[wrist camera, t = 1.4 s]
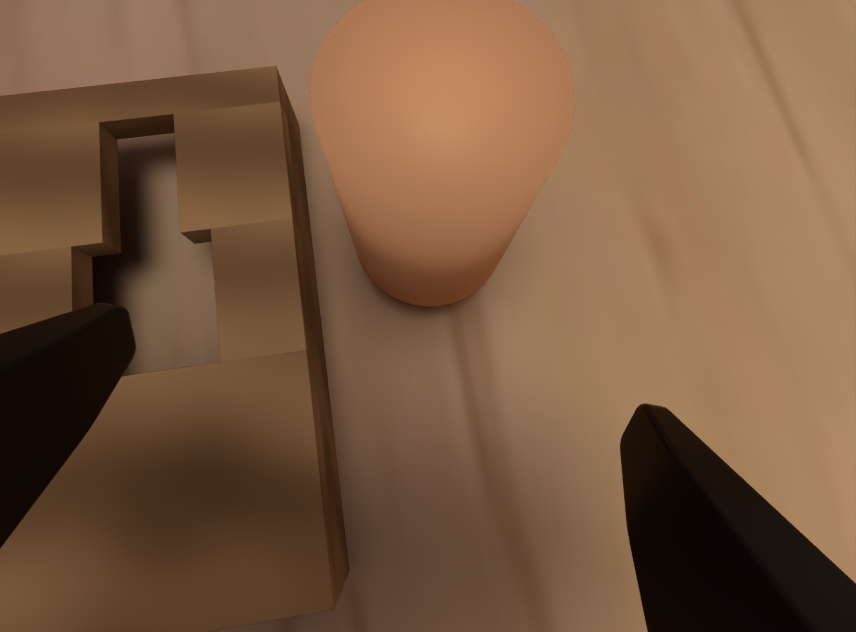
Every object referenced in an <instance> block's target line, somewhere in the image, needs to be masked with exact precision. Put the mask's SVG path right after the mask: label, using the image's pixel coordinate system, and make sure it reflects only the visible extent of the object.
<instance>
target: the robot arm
mask: <svg viewBox="0 0 856 632" xmlns="http://www.w3.org/2000/svg"><path fill="white" fill-rule="evenodd" d="M135 349H136V344H135V339H134V334H133V330H132V325H131V321H130V317H129V313H128V311H127V310H126V309H125V308H124V307H122V306H118V305H113V304H108V303H96V304H92V305H89V306H86V307H83V308H80V309H77V310H74V311H70V312H67V313H64V314H61V315H58V316H55V317H51V318H48V319H45V320H42V321H39V322H36V323H32V324H29V325H26V326H23V327H20V328H17V329H14V330H10V331H7V332H4V333H1V334H0V549H1V547H2V546H3V545H4V543H5V542H6V541H7V539H8V538H9V537H10V535H11V534H12V533H13V531H14V530H15V529H16V527H17V526H18V525H19V523H20V522H21V521H22V519H23V518H24V517H25V515H26V514H27V513H28V511H29V510H30V509H31V507H32V506H33V505H34V503H35V502H36V501H37V499H38V498H39V497H40V495H41V494H42V493H43V491H44V490H45V489H46V487H47V486H48V485H49V483H50V482H51V481H52V480H53V478H54V477H55V476H56V474H57V473H58V472H59V470H60V469H61V468H62V466H63V465H64V464H65V462H66V461H67V460H68V458H69V457H70V456H71V454H72V453H73V452H74V450H75V449H76V448H77V446H78V445H79V444H80V442H81V441H82V439H83V438H84V437H85V435H86V434H87V432H88V431H89V430H90V428H91V427H92V425H93V423H94V422H95V420H96V419H97V417H98V416H99V414H100V412H101V410H102V409H103V407H104V405H105V404H106V402H107V400H108V399H109V397H110V395H111V394H112V392H113V390H114V389H115V387H116V385H117V384H118V382H119V380H120V379H121V377H122V375H123V374H124V372H125V370H126V369H127V367H128V365H129V364H130V362H131V360H132V358H133V356H134V354H135ZM620 453H621V465H622V476H623V488H624V500H625V511H626V521H627V530H628V536H629V541H630V547H631V552H632V556H633V561H634V566H635V571H636V576H637V581H638V586H639V591H640V596H641V601H642V606H643V611H644V616H645V621H646V626H647V630H648V632H856V583H855V582H853V581H852V580H851V579H850V578H849V577H848V576H847V575H846V574H845V573H844V572H843V571H842V570H841V569H839V568H838V567H837V566H836V565H835V564H834V563H833V562H832V561H831V560H830V559H829V558H828V557H827V556H825V555H824V554H823V553H822V552H821V551H820V550H819V549H818V548H817V547H816V546H815V545H814V544H813V543H811V542H810V541H809V540H808V539H807V538H806V537H805V536H804V535H803V534H802V533H801V532H800V531H799V530H798V529H796V528H795V527H794V526H793V525H792V524H791V523H790V522H789V521H788V520H787V519H786V518H785V517H784V516H782V515H781V514H780V513H779V512H778V511H777V510H776V509H775V508H774V507H773V506H772V505H771V504H770V503H768V502H767V501H766V500H765V499H764V498H763V497H762V496H761V495H760V494H759V493H758V492H757V491H756V490H754V489H753V488H752V487H751V486H750V485H749V484H748V483H747V482H746V481H745V480H744V479H743V478H742V477H740V476H739V475H738V474H737V473H736V472H735V471H734V470H733V469H732V468H731V467H730V466H729V465H728V464H726V463H725V462H724V461H723V460H722V459H721V458H720V457H719V456H718V455H717V454H716V453H715V452H714V451H712V450H711V449H710V448H709V447H708V446H707V445H706V444H705V443H704V442H703V441H702V440H701V439H700V438H699V437H697V436H696V435H695V434H694V433H693V432H692V431H691V430H690V429H689V428H688V427H687V426H686V425H685V424H683V423H682V422H681V421H680V420H679V419H678V418H677V417H676V416H675V415H674V414H673V413H672V412H671V411H669V410H668V409H667V408H665V407H662V406H657V405H651V404H641V405H639V406H638V407H637V409H636V410H635V412H634V414H633V416H632V418H631V420H630V422H629V424H628V425H627V427H626V429H625V431H624V433H623V435H622V438H621V442H620Z"/></svg>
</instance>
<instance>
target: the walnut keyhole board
mask: <svg viewBox="0 0 856 632" xmlns="http://www.w3.org/2000/svg"><path fill="white" fill-rule="evenodd" d="M167 133H175V149H176V166H177V183H178V200H179V216H180V233H182V234H183V235H184V236H186V237H187V238H188V239H189V240H191V241H192V242H193V243H194V244H195V243H203V242H210V241H212V253H213V267H214V280H215V294H216V308H217V322H218V336H219V350H220V362H218V363H211V364H204V365H197V366H191V367H184V368H177V369H170V370H163V371H156V372H149V373H142V374H135V375H129V376H122V377H121V379H120V380H119V382H118V384H117V385H116V387H115V389H114V390H113V392H112V394H111V395H110V397H109V399H108V400H107V402H106V404H105V405H104V407H103V409H102V410H101V412H100V414H99V416H98V417H97V419H96V420H95V422H94V423H93V425H92V427H91V428H90V430H89V431H88V432H87V434H86V435H85V437H84V438H83V439H82V441H81V442H80V444H79V445H78V446H77V448H76V449H75V450H74V452H73V453H72V454H71V456H70V457H69V458H68V460H67V461H66V462H65V464H64V465H63V466H62V468H61V469H60V470H59V472H58V473H57V474H56V476H55V477H54V478H53V480H52V481H51V482H50V483H49V485H48V486H47V487H46V489H45V490H44V491H43V493H42V494H41V495H40V497H39V498H38V499H37V501H36V502H35V503H34V505H33V506H32V507H31V509H30V510H29V511H28V513H27V514H26V515H25V517H24V518H23V519H22V521H21V522H20V523H19V525H18V526H17V527H16V529H15V530H14V531H13V533H12V534H11V535H10V537H9V538H8V539H7V541H6V542H5V543H4V545H3V546H2V547H1V549H0V632H209V631H215V630H220V629H226V628H232V627H237V626H243V625H249V624H254V623H260V622H265V621H271V620H277V619H282V618H288V617H293V616H299V615H305V614H310V613H316V612H321V611H327V610H333V609H334V607H335V605H336V602H337V600H338V597H339V595H340V592H341V590H342V587H343V585H344V582H345V580H346V577H347V575H348V572H349V567H348V558H347V549H346V540H345V531H344V522H343V513H342V505H341V496H340V487H339V478H338V469H337V460H336V451H335V442H334V434H333V425H332V416H331V407H330V398H329V389H328V380H327V372H326V363H325V354H324V345H323V336H322V327H321V318H320V309H319V301H318V292H317V283H316V274H315V265H314V256H313V247H312V238H311V230H310V221H309V212H308V203H307V194H306V185H305V176H304V167H303V159H302V150H301V141H300V132H299V124H298V121H297V119H296V116H295V113H294V111H293V108H292V106H291V103H290V100H289V98H288V95H287V93H286V90H285V87H284V85H283V82H282V80H281V77H280V75H279V72H278V69H277V67H276V66H272V67H263V68H253V69H244V70H235V71H226V72H217V73H208V74H198V75H189V76H180V77H171V78H162V79H153V80H143V81H134V82H125V83H116V84H107V85H98V86H88V87H79V88H70V89H61V90H52V91H43V92H34V93H24V94H15V95H6V96H0V334H1V333H4V332H7V331H10V330H14V329H17V328H20V327H23V326H26V325H29V324H32V323H36V322H39V321H42V320H45V319H48V318H51V317H55V316H58V315H61V314H64V313H67V312H70V311H74V310H77V309H80V308H83V307H86V306H89V305H92V304H93V277H92V257H95V256H103V255H110V254H118V253H121V234H120V205H119V177H118V148H117V139H124V138H133V137H142V136H150V135H159V134H167Z"/></svg>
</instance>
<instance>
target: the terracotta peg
mask: <svg viewBox="0 0 856 632" xmlns="http://www.w3.org/2000/svg"><path fill="white" fill-rule="evenodd" d="M310 101H311V111H312V116H313V121H314V125H315V128H316V131H317V134H318V137H319V140H320V143H321V146H322V149H323V152H324V155H325V158H326V161H327V164H328V167H329V170H330V173H331V176H332V179H333V182H334V185H335V188H336V191H337V194H338V197H339V200H340V203H341V206H342V209H343V212H344V215H345V218H346V221H347V224H348V227H349V230H350V233H351V236H352V239H353V242H354V245H355V248H356V251H357V254H358V257H359V260H360V262H361V264H362V266H363V268H364V270H365V272H366V273H367V275H368V276H369V277H370V279H371V280H372V281H373V282H374V283H375V284H376V285H377V286H378V287H379V288H380V289H381V290H383V291H384V292H385V293H387V294H388V295H390V296H392V297H393V298H396V299H398V300H400V301H402V302H405V303H409V304H412V305H418V306H429V307H432V306H442V305H447V304H451V303H454V302H457V301H460V300H462V299H464V298H466V297H468V296H469V295H471V294H472V293H474V292H475V291H477V290H478V289H479V288H480V287H481V286H482V285H483V284H484V283H485V282H486V281H487V280H488V279H489V277H490V276H491V274H492V273H493V271H494V270H495V268H496V266H497V264H498V263H499V261H500V259H501V257H502V256H503V254H504V252H505V250H506V249H507V247H508V245H509V243H510V242H511V240H512V238H513V237H514V235H515V233H516V231H517V230H518V228H519V226H520V224H521V223H522V221H523V219H524V217H525V216H526V214H527V212H528V210H529V209H530V207H531V205H532V203H533V202H534V200H535V198H536V196H537V195H538V193H539V191H540V189H541V188H542V186H543V184H544V182H545V181H546V179H547V177H548V175H549V174H550V172H551V170H552V168H553V167H554V165H555V163H556V161H557V160H558V158H559V156H560V154H561V153H562V151H563V148H564V146H565V144H566V142H567V140H568V137H569V134H570V130H571V127H572V123H573V116H574V108H575V100H574V87H573V80H572V76H571V72H570V69H569V66H568V63H567V60H566V58H565V56H564V54H563V52H562V50H561V48H560V46H559V45H558V43H557V41H556V40H555V38H554V37H553V35H552V34H551V33H550V32H549V30H548V29H547V28H546V27H545V26H544V24H543V23H542V22H541V21H540V20H539V19H538V18H536V17H535V16H534V15H533V14H532V13H531V12H530V11H528V10H527V9H526V8H524V7H523V6H522V5H520V4H519V3H517V2H516V1H514V0H364V1H363V2H361V3H360V4H358V5H357V6H356V7H354V8H353V9H352V10H350V11H349V12H348V13H347V14H346V15H345V16H344V17H343V18H342V19H341V20H340V21H339V22H338V23H337V24H336V26H335V27H334V28H333V29H332V31H331V32H330V33H329V35H328V36H327V38H326V40H325V41H324V43H323V45H322V46H321V49H320V51H319V54H318V56H317V58H316V61H315V65H314V69H313V73H312V77H311V87H310Z"/></svg>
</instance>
